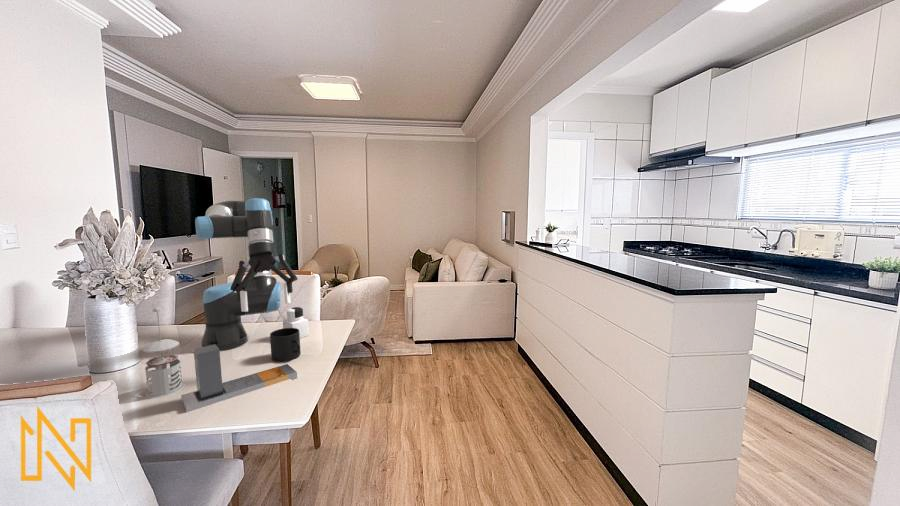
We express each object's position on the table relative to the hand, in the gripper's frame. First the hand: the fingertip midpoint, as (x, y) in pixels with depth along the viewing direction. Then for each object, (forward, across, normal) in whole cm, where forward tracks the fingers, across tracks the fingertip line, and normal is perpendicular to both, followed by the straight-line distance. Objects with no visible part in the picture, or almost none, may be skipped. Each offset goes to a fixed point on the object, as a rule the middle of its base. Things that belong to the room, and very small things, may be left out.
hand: (266, 307), depth 114 cm
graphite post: (+23, -12, -11) cm, 28 cm away
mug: (+17, -1, +16) cm, 23 cm away
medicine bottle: (+9, -5, +36) cm, 37 cm away
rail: (+23, -6, -5) cm, 25 cm away
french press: (+19, -28, -5) cm, 34 cm away
